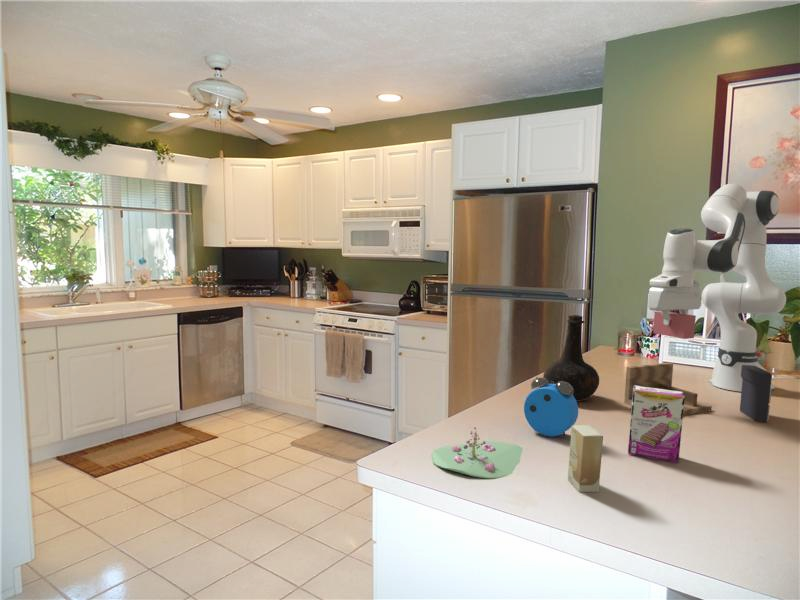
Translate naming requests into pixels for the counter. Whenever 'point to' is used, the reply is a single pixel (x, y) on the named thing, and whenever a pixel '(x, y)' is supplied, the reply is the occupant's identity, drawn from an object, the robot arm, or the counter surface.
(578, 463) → the skincare box
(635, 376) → the wooden shelf rack
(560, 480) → the counter surface
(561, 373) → the glass bottle
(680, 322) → the boxed book
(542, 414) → the alarm clock
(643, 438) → the candy bar box
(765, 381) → the stepped charcoal slab
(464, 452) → the plant
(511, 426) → the counter surface
